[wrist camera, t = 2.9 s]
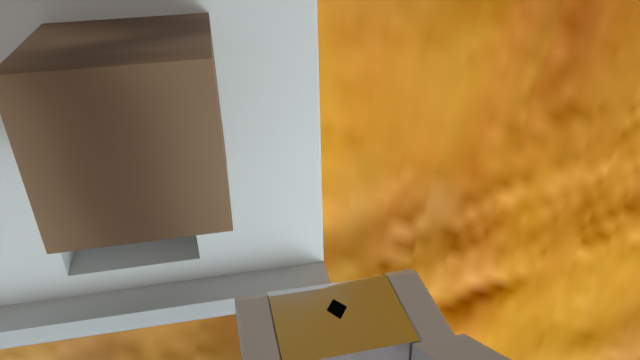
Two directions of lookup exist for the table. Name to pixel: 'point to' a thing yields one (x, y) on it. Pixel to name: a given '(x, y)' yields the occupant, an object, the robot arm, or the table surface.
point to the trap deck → (243, 175)
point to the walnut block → (118, 130)
